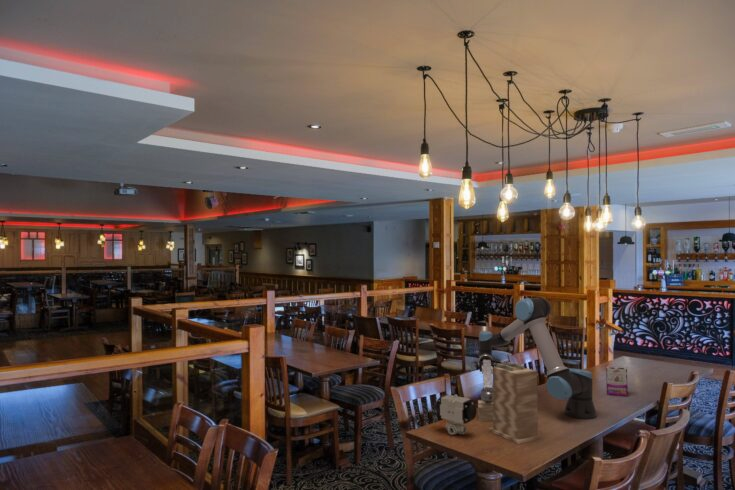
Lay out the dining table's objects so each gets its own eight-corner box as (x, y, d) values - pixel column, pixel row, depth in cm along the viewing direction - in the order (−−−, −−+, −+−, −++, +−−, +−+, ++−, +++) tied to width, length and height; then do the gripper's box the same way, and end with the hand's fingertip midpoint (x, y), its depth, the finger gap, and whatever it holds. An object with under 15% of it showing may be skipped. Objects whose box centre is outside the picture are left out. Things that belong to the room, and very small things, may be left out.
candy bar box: (626, 394, 297) (626, 366, 298) (627, 396, 293) (627, 368, 293) (606, 392, 302) (605, 365, 302) (606, 394, 297) (606, 367, 297)
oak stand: (488, 430, 237) (488, 363, 238) (512, 425, 244) (511, 360, 245) (518, 444, 221) (517, 371, 221) (542, 437, 228) (542, 368, 228)
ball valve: (434, 431, 237) (433, 393, 237) (443, 426, 243) (443, 389, 244) (468, 440, 225) (467, 400, 226) (477, 435, 232) (476, 396, 232)
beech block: (478, 412, 265) (478, 399, 266) (497, 413, 263) (497, 400, 264) (478, 420, 252) (478, 407, 252) (499, 421, 250) (499, 408, 250)
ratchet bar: (480, 365, 277) (480, 359, 275) (493, 365, 275) (493, 360, 273) (481, 402, 253) (481, 396, 251) (495, 403, 252) (495, 397, 250)
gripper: (501, 369, 287) (504, 379, 264) (470, 367, 290) (470, 377, 267) (501, 355, 287) (504, 364, 264) (470, 354, 290) (470, 363, 267)
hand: (487, 371), depth 266 cm, fingers closed on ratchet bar, 4 cm apart
